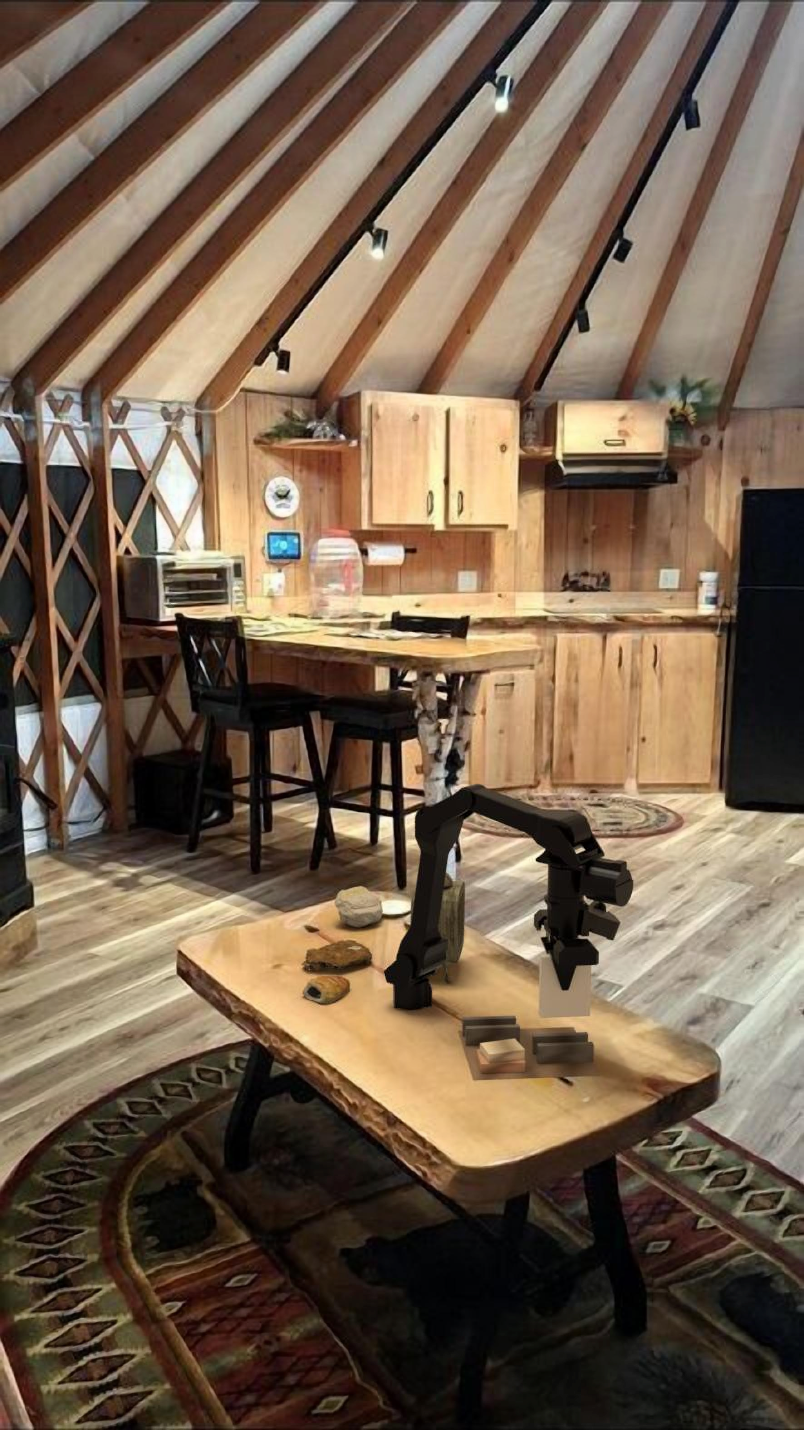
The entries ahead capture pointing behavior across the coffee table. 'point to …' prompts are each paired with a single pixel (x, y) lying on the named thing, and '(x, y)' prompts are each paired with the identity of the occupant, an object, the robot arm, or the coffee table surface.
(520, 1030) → the walnut rack
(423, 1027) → the coffee table surface
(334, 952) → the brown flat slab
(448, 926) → the tabletop clock
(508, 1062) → the cedar offcut
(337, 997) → the pastry
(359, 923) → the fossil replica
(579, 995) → the off-white sheet
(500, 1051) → the birch offcut
